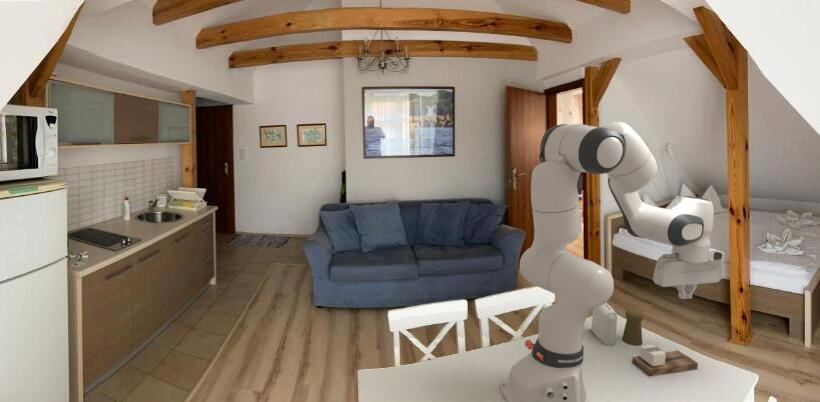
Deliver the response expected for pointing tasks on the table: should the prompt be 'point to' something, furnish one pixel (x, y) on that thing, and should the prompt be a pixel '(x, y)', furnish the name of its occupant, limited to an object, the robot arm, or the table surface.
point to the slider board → (667, 364)
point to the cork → (633, 327)
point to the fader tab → (652, 355)
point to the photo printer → (605, 324)
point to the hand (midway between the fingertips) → (684, 298)
